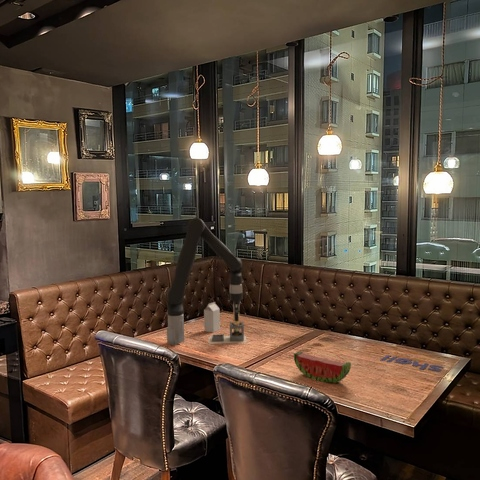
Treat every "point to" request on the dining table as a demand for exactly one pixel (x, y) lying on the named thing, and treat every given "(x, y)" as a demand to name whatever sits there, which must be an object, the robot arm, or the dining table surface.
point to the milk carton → (212, 318)
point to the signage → (415, 363)
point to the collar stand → (231, 334)
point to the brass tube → (236, 323)
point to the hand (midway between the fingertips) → (236, 319)
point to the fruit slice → (321, 367)
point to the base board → (226, 340)
